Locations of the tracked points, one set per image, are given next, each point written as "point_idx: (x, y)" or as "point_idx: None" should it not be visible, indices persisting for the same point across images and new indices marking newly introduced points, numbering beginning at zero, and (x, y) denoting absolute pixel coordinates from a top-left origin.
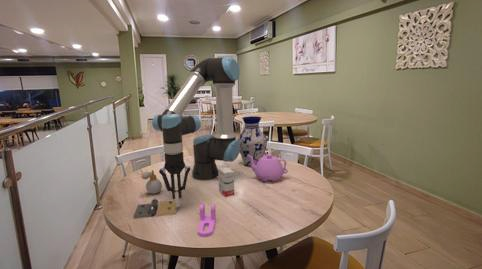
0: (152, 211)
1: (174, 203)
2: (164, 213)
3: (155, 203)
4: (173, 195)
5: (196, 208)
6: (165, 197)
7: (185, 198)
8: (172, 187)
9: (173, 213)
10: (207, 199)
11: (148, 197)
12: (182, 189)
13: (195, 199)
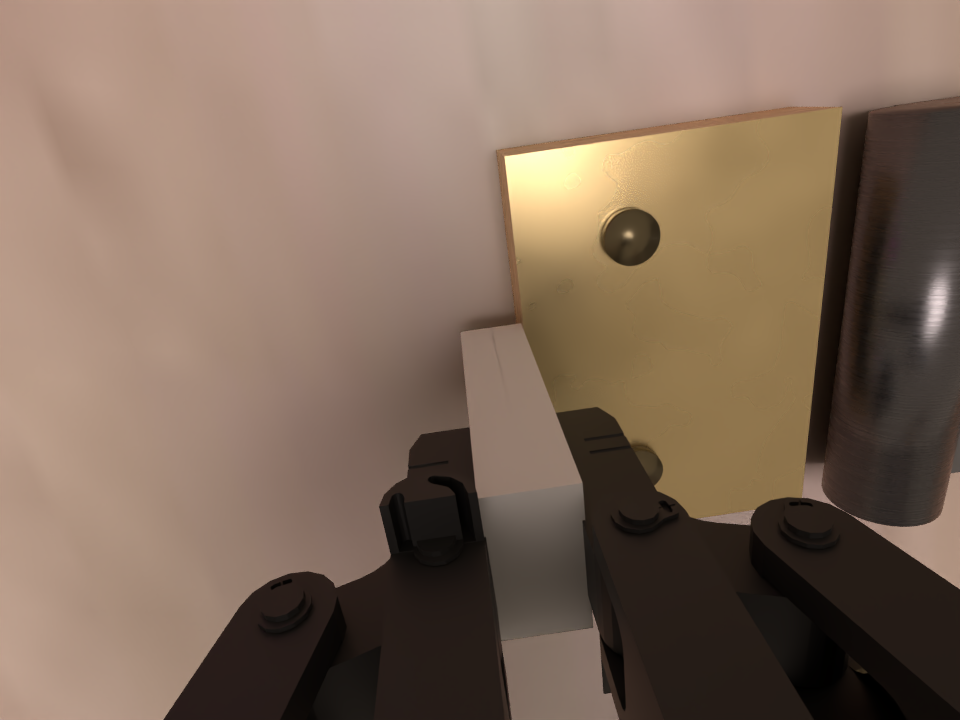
0: (946, 109)
1: None
2: (696, 124)
3: (897, 396)
4: (604, 455)
5: (185, 343)
6: None
7: None
8: (708, 616)
9: (534, 147)
10: (106, 605)
11: None
12: (350, 599)
13: None
